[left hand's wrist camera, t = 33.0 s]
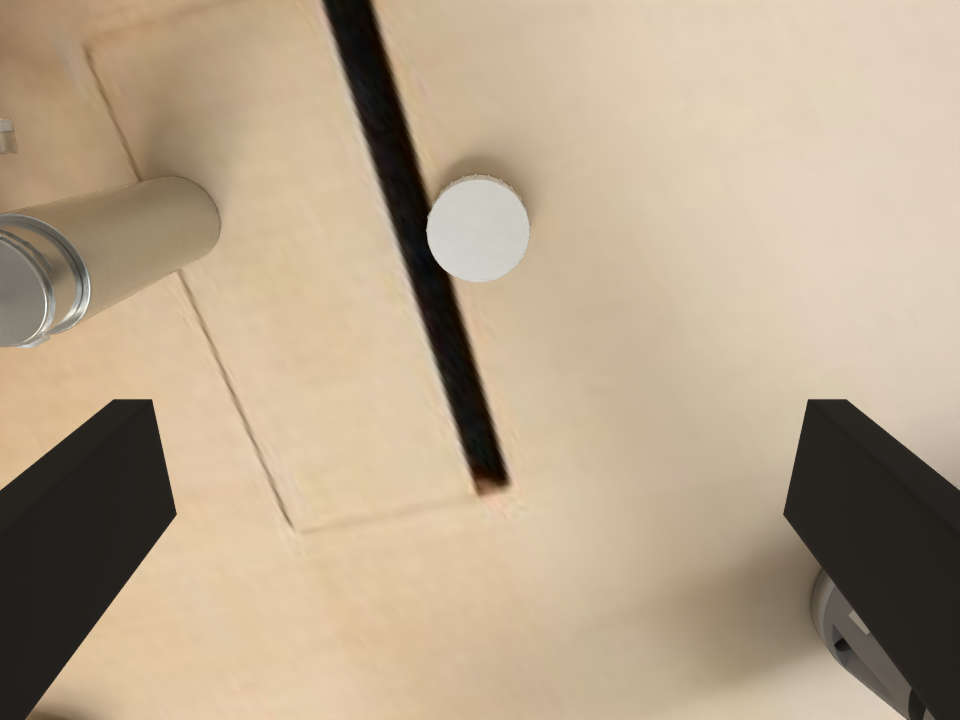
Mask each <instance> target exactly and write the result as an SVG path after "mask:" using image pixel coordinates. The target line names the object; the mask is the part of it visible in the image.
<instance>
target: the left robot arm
mask: <svg viewBox="0 0 960 720" xmlns="http://www.w3.org/2000/svg"><path fill="white" fill-rule="evenodd" d="M176 515H177V513H176V509H175V504H174V499H173V495H172V490H171V486H170V481H169V476H168V472H167V467H166V462H165V458H164V453H163V448H162V444H161V439H160V434H159V430H158V425H157V420H156V416H155V411H154V407H153V402H152V399H114V400H112V401H111V402H110V403H109V404H107V405H106V406H105V407H104V408H102V409H101V410H100V411H99V412H97V413H96V414H95V415H94V416H92V417H91V418H90V419H89V420H87V421H86V422H85V423H84V424H82V425H81V426H80V427H79V428H77V429H76V430H75V431H74V432H73V433H71V434H70V435H69V436H68V437H66V438H65V439H64V440H63V441H61V442H60V443H59V444H58V445H56V446H55V447H54V448H53V449H51V450H50V451H49V452H48V453H46V454H45V455H44V456H43V457H41V458H40V459H39V460H38V461H36V462H35V463H34V464H33V465H31V466H30V467H29V468H28V469H26V470H25V471H24V472H23V473H22V474H20V475H19V476H18V477H17V478H15V479H14V480H13V481H12V482H10V483H9V484H8V485H7V486H5V487H4V488H3V489H2V490H0V720H25V719H26V718H27V716H28V715H29V713H30V712H31V711H32V709H33V708H34V707H35V705H36V704H37V703H38V701H39V700H40V699H41V697H42V696H43V695H44V693H45V692H46V690H47V689H48V688H49V686H50V685H51V684H52V682H53V681H54V680H55V678H56V677H57V676H58V674H59V673H60V672H61V670H62V669H63V668H64V666H65V665H66V663H67V662H68V661H69V659H70V658H71V657H72V655H73V654H74V653H75V651H76V650H77V649H78V647H79V646H80V645H81V643H82V642H83V641H84V639H85V638H86V636H87V635H88V634H89V632H90V631H91V630H92V628H93V627H94V626H95V624H96V623H97V622H98V620H99V619H100V618H101V616H102V615H103V613H104V612H105V611H106V609H107V608H108V607H109V605H110V604H111V603H112V601H113V600H114V599H115V597H116V596H117V595H118V593H119V592H120V591H121V589H122V588H123V586H124V585H125V584H126V582H127V581H128V580H129V578H130V577H131V576H132V574H133V573H134V572H135V570H136V569H137V568H138V566H139V565H140V564H141V562H142V561H143V559H144V558H145V557H146V555H147V554H148V553H149V551H150V550H151V549H152V547H153V546H154V545H155V543H156V542H157V541H158V539H159V538H160V536H161V535H162V534H163V532H164V531H165V530H166V528H167V527H168V526H169V524H170V523H171V522H172V520H173V519H174V518H175V516H176ZM783 515H784V516H785V518H786V519H787V520H788V522H789V523H790V524H791V526H792V527H793V528H794V530H795V531H796V532H797V534H798V535H799V536H800V538H801V539H802V541H803V542H804V543H805V545H806V546H807V547H808V549H809V550H810V551H811V553H812V554H813V555H814V557H815V558H816V559H817V561H818V562H819V564H820V565H821V566H822V568H823V570H822V572H821V573H820V575H819V577H818V580H817V582H816V585H815V588H814V591H813V597H812V617H813V621H814V625H815V627H816V630H817V632H818V634H819V635H820V637H821V639H822V640H823V642H824V643H825V645H826V646H827V648H828V650H829V651H830V653H831V654H832V655H833V657H834V658H835V659H836V660H837V662H838V663H839V664H840V665H842V666H843V667H844V668H845V669H846V670H847V671H848V672H849V673H851V674H852V675H853V676H854V677H855V678H857V679H858V680H859V681H860V682H862V683H863V684H864V685H865V686H866V687H868V688H869V689H870V690H871V691H873V692H874V693H875V694H876V695H877V696H879V697H880V698H881V699H882V700H884V701H885V702H886V703H887V704H888V705H890V706H891V707H892V708H893V709H895V710H896V711H897V712H898V713H899V714H901V715H902V716H903V717H904V718H906V719H907V720H960V490H958V489H957V488H956V487H955V486H953V485H952V484H951V483H950V482H948V481H947V480H946V479H945V478H943V477H942V476H941V475H940V474H938V473H937V472H936V471H935V470H934V469H932V468H931V467H930V466H929V465H927V464H926V463H925V462H924V461H922V460H921V459H920V458H919V457H917V456H916V455H915V454H914V453H912V452H911V451H910V450H909V449H907V448H906V447H905V446H904V445H902V444H901V443H900V442H899V441H897V440H896V439H895V438H894V437H892V436H891V435H890V434H889V433H887V432H886V431H885V430H884V429H883V428H881V427H880V426H879V425H878V424H876V423H875V422H874V421H873V420H871V419H870V418H869V417H868V416H866V415H865V414H864V413H863V412H861V411H860V410H859V409H858V408H856V407H855V406H854V405H853V404H851V403H850V402H849V401H848V400H846V399H808V402H807V407H806V411H805V416H804V420H803V425H802V430H801V434H800V439H799V444H798V448H797V453H796V458H795V462H794V467H793V472H792V476H791V481H790V486H789V490H788V495H787V499H786V504H785V509H784V513H783Z"/></svg>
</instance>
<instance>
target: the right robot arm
mask: <svg viewBox="0 0 960 720" xmlns="http://www.w3.org/2000/svg"><path fill="white" fill-rule="evenodd" d="M16 152H17V146H16V140H15V133H14V129H13V123H12V120H10V119H0V154H6V153H16ZM49 339H50V335H44V336H43V337H42V338H40V339H38V340H36V341H34V342H32V343H30V344H27V345H23V346H18V347H20V348H30V347H35V346H38V345H40V344H42V343H44V342H45V341H47V340H49Z"/></svg>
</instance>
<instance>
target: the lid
mask: <svg viewBox="0 0 960 720" xmlns="http://www.w3.org/2000/svg"><path fill="white" fill-rule="evenodd" d="M432 206H433V208H432V210H431V211H430V213H429V215H428V217H427V218H428V224H427V229H426V231H427V237H428V244H429V247H430V249H431V252H432V254H433V256H434V258H435V259H436V261H437V262H438V263H439V264H440V266H441V267H442V268H443V269H444V270H446V271H447V272H448V273H450V274H451V275H453V276H455V277H457V278H459V279H462V280H465V281H469V282H488V281H492V280H495V279H498V278H500V277H502V276H504V275H506V274H507V273H509V272H510V271H511V270H512V269H513V268H515V266H516V265H517V264H518V263H519V262H520V260H521V259H522V257H523V255H524V253H525V251H526V250H527V246H528V242H529V239H530V222H529V219H528V216H527V213H528V211H527V209H526V207H525V206H523V203H522V199H521V197H520V195H517V193H516V192H515V191H514V190H513V188H512V186H511V185H510V186H509V185H507V184H506V183H504V182H503V181H502V179H497V178H494V177H491V176H489V174H487V176H486V175H477V174H475V175H470V176H466V177H464V176H462V178H460V179H458V180H456V181H454V182H452V181H451V182H450V185H448V186H447V187H446V188H445V189H444V190H443V189H442V190H441V192H440V194H439V196H438V198H437V199H436V200H434V202H433V204H432Z"/></svg>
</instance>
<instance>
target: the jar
mask: <svg viewBox="0 0 960 720" xmlns="http://www.w3.org/2000/svg"><path fill="white" fill-rule="evenodd" d="M219 233H220V219H219V214H218V211H217V208H216V206H215V204H214V202H213V201H212V199H211V198H210V196H209V195H208V194H207V193H206V192H205V191H204V190H203V189H202V188H201V187H199V186H198V185H197V184H195V183H193V182H191V181H189V180H187V179H184V178H181V177H175V176H166V177H160V178H156V179H151V180H147V181H142V182H138V183H134V184H129V185H125V186H120V187H116V188H111V189H107V190H103V191H98V192H94V193H89V194H85V195H81V196H76V197H72V198H67V199H63V200H59V201H54V202H50V203H45V204H41V205H37V206H32V207H28V208H23V209H19V210H15V211H10V212H6V213H1V214H0V347H18V346H23V345H27V344H30V343H32V342H34V341H36V340H38V339H40V338H42V337H43V336H44V335H52V334H57V333H61V332H64V331H66V330H69V329H71V328H72V327H74V326H76V325H78V324H80V323H82V322H83V321H85V320H87V319H89V318H91V317H93V316H94V315H96V314H98V313H100V312H102V311H104V310H105V309H107V308H109V307H111V306H113V305H115V304H116V303H118V302H120V301H122V300H124V299H125V298H127V297H129V296H131V295H133V294H135V293H136V292H138V291H140V290H142V289H144V288H146V287H147V286H149V285H151V284H153V283H155V282H157V281H158V280H160V279H162V278H164V277H166V276H168V275H169V274H171V273H173V272H175V271H177V270H179V269H180V268H182V267H184V266H186V265H188V264H190V263H191V262H193V261H195V260H197V259H199V258H201V257H202V256H204V255H206V254H207V253H208V252H209V251H210V250H211V249H212V248H213V247H214V245H215V244H216V242H217V240H218V237H219Z"/></svg>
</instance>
